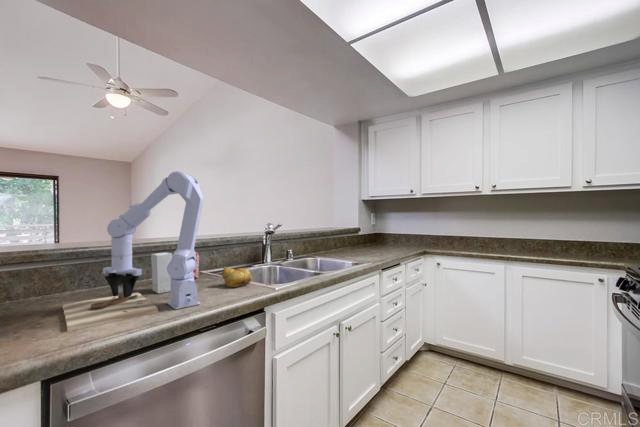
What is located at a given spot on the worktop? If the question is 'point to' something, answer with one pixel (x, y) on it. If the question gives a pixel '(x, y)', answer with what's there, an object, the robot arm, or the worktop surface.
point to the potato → (236, 277)
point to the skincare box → (161, 272)
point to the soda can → (196, 271)
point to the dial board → (105, 311)
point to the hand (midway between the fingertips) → (122, 296)
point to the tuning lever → (113, 301)
